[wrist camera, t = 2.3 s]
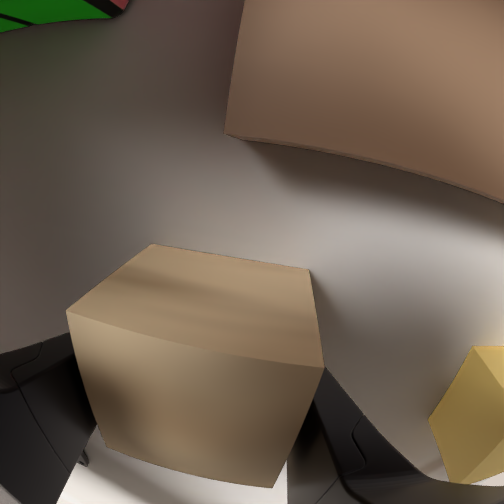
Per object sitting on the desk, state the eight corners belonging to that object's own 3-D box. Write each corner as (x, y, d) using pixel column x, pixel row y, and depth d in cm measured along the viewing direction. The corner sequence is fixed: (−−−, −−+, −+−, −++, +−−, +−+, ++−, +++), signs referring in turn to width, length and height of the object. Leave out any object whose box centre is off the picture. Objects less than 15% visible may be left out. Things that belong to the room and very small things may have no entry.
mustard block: (485, 410, 11) (514, 467, 6) (427, 418, 11) (452, 489, 7) (526, 344, 9) (571, 398, 5) (471, 344, 9) (520, 417, 5)
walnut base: (543, 221, 7) (583, 239, 5) (241, 139, 8) (223, 133, 6) (532, -14, 3) (559, -27, 1) (284, -112, 4) (281, -148, 2)
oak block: (279, 387, 11) (272, 488, 6) (154, 362, 11) (106, 447, 7) (308, 269, 9) (324, 367, 5) (151, 243, 9) (65, 310, 5)
